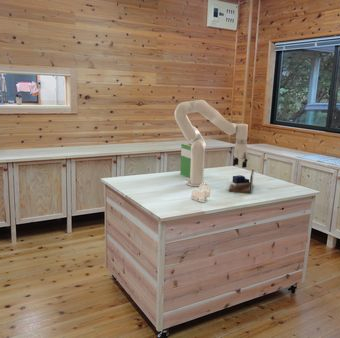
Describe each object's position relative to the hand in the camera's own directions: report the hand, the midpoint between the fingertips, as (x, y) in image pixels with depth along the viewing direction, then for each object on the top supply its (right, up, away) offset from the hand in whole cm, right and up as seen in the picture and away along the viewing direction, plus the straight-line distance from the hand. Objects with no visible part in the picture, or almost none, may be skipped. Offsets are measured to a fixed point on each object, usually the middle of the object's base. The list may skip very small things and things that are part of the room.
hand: (240, 166), depth 263 cm
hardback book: (-34, -7, +34) cm, 48 cm away
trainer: (+1, -13, +4) cm, 14 cm away
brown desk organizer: (+1, -16, +2) cm, 16 cm away
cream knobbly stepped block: (-29, -21, -28) cm, 45 cm away
